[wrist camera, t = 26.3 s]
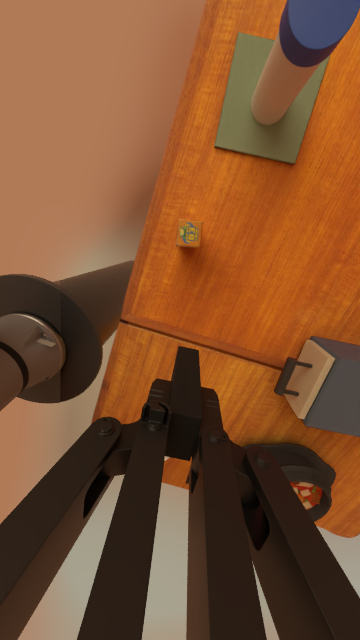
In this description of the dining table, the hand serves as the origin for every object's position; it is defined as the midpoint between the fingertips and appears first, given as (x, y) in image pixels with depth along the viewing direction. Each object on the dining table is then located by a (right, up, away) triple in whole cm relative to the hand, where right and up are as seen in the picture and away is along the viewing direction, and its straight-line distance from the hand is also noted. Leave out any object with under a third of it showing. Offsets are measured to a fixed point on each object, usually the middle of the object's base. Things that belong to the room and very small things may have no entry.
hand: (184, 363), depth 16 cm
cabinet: (+31, -7, +27) cm, 41 cm away
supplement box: (+1, +17, +20) cm, 26 cm away
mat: (+12, +33, +13) cm, 37 cm away
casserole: (+23, -32, +36) cm, 54 cm away
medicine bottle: (+12, +33, +13) cm, 37 cm away
